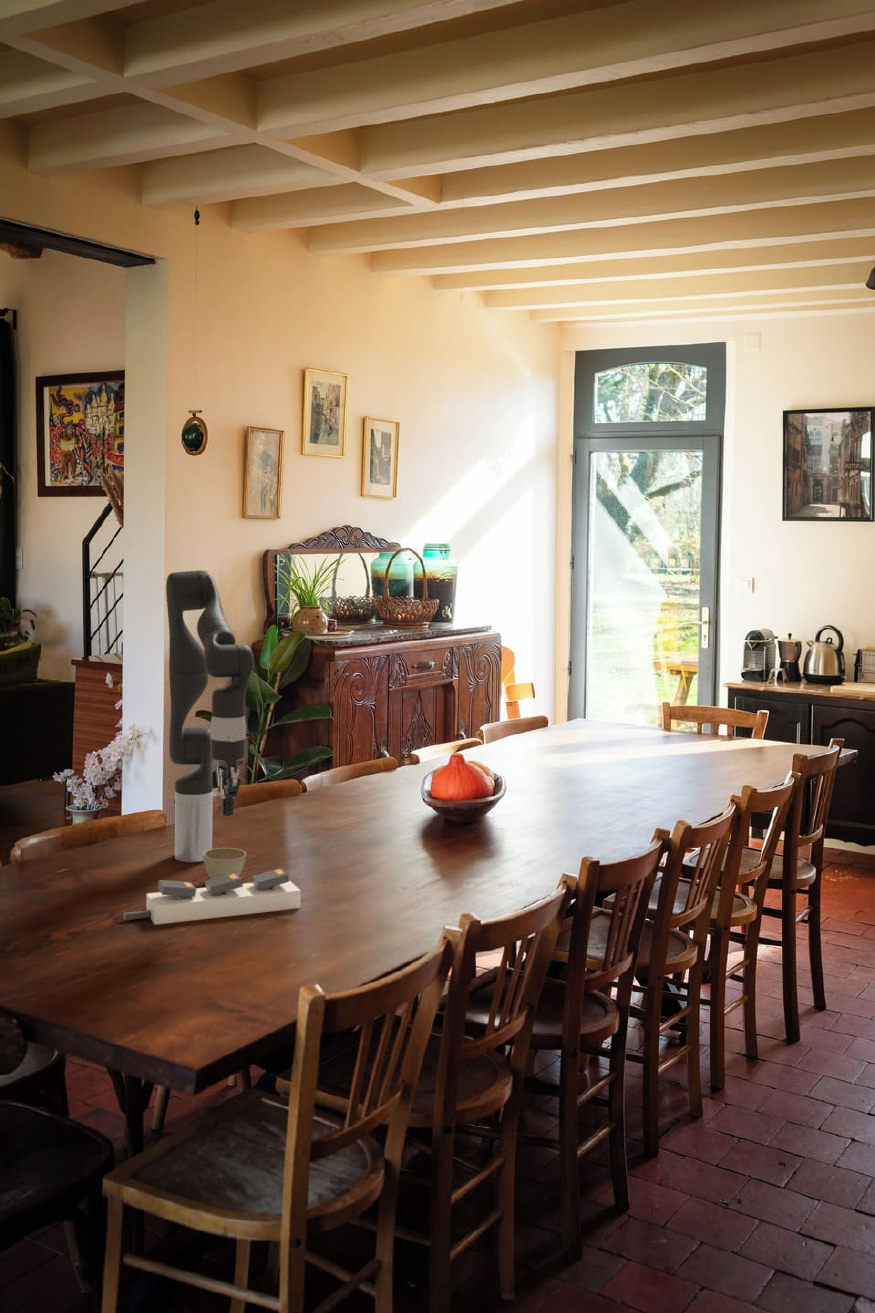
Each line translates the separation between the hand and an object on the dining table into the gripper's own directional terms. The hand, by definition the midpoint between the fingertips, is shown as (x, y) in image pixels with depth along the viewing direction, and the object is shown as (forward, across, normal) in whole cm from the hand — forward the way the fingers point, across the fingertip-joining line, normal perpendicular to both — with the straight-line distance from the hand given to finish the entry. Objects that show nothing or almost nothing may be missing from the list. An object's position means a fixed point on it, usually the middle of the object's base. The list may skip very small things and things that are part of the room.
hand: (227, 815), depth 255 cm
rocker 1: (+16, 0, -11) cm, 19 cm away
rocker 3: (+16, 0, +10) cm, 19 cm away
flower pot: (+21, -19, +4) cm, 29 cm away
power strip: (+21, 0, -3) cm, 21 cm away
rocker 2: (+16, 0, 0) cm, 16 cm away
